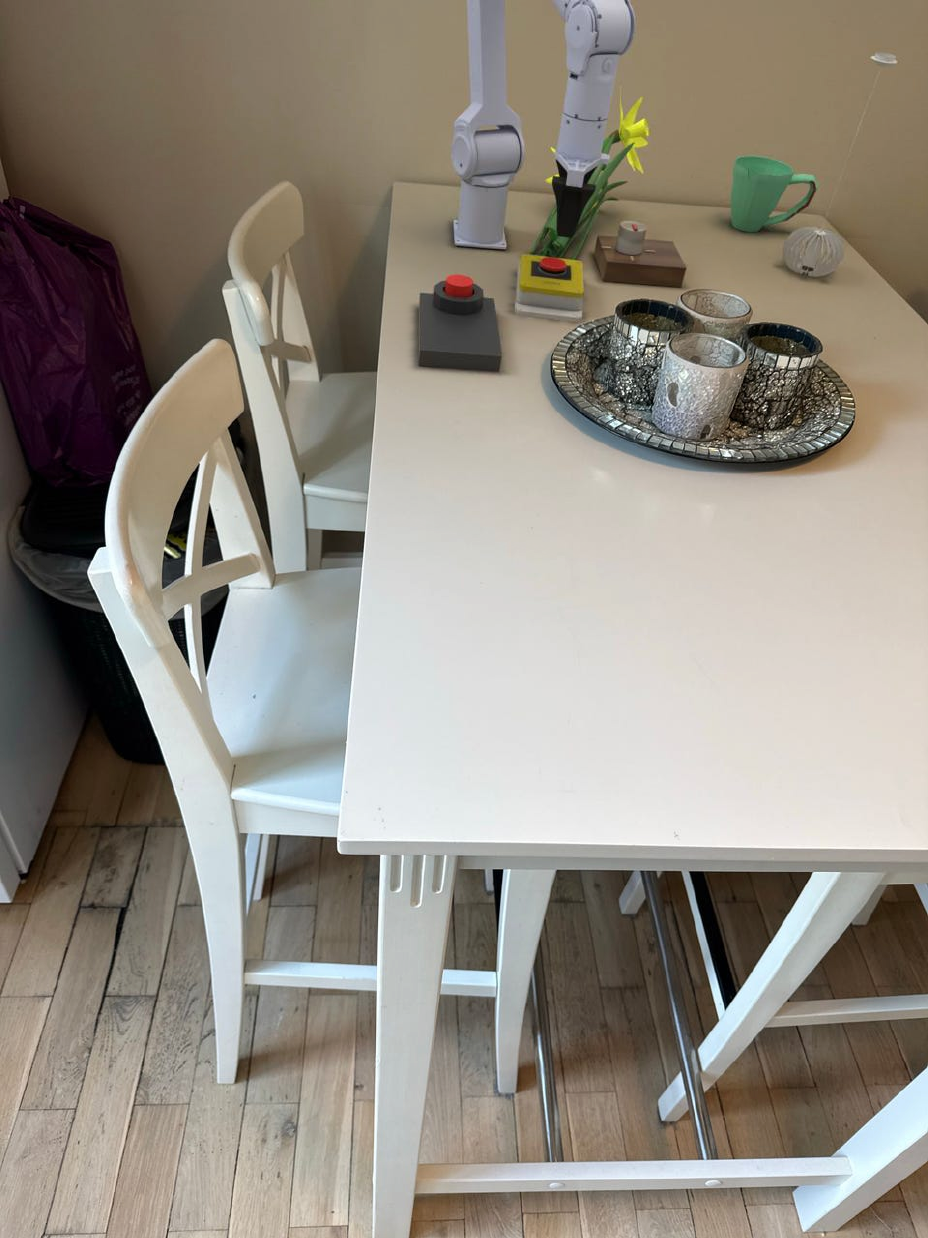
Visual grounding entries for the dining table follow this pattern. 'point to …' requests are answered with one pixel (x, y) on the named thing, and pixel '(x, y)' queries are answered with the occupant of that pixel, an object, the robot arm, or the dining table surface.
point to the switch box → (458, 331)
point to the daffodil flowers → (598, 182)
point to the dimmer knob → (630, 237)
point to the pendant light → (825, 235)
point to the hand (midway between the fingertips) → (566, 225)
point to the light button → (459, 286)
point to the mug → (763, 192)
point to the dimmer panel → (640, 263)
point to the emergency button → (549, 288)
